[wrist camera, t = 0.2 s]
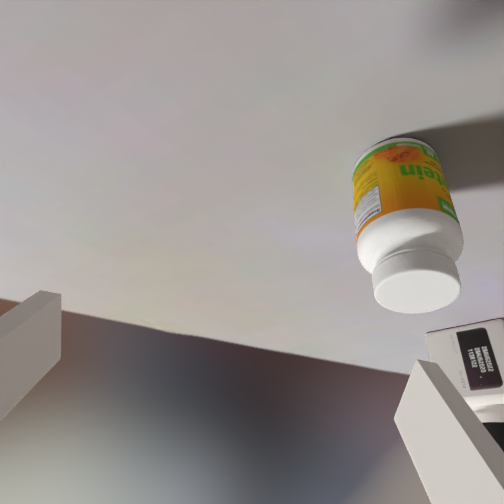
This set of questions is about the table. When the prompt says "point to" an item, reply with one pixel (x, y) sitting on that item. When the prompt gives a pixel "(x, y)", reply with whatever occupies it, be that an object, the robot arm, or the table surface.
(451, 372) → the container
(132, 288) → the table surface
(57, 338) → the robot arm
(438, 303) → the supplement bottle
